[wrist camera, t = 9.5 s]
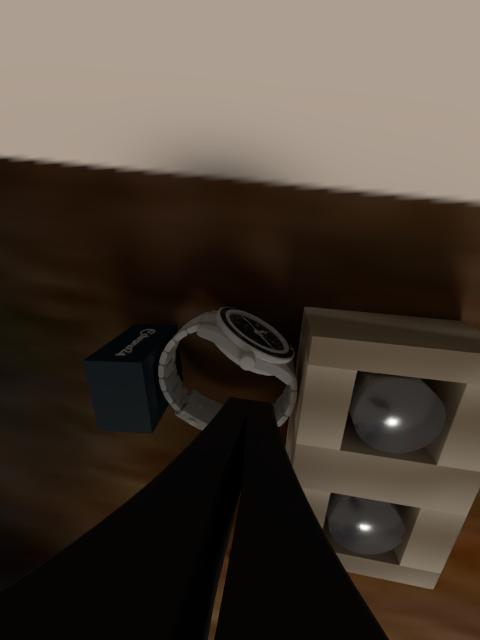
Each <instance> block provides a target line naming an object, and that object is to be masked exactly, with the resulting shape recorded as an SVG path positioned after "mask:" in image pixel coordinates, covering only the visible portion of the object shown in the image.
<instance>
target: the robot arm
mask: <svg viewBox="0 0 480 640" xmlns="http://www.w3.org/2000/svg"><path fill="white" fill-rule="evenodd" d="M240 491H241V497H240V503H239V508H238V514H237V520H236V525H235V531H234V537H233V542H232V548H231V553H230V558H229V564H228V569H227V575H226V580H225V586H224V591H223V596H222V602H221V607H220V612H219V617H218V623H217V628H216V633H215V639H214V640H389V639H388V637H387V636H386V634H385V633H384V631H383V629H382V628H381V626H380V625H379V623H378V621H377V620H376V618H375V617H374V615H373V614H372V612H371V610H370V609H369V607H368V606H367V604H366V602H365V601H364V599H363V598H362V596H361V595H360V593H359V591H358V590H357V588H356V587H355V585H354V583H353V582H352V580H351V579H350V577H349V575H348V573H347V572H346V570H345V568H344V566H343V565H342V563H341V561H340V560H339V558H338V556H337V554H336V553H335V551H334V549H333V547H332V546H331V544H330V542H329V540H328V538H327V536H326V535H325V533H324V531H323V529H322V527H321V525H320V524H319V522H318V520H317V518H316V516H315V514H314V512H313V510H312V508H311V506H310V504H309V502H308V500H307V498H306V496H305V494H304V491H303V489H302V487H301V485H300V483H299V480H298V478H297V476H296V474H295V471H294V469H293V467H292V464H291V462H290V459H289V456H288V454H287V451H286V449H285V446H284V443H283V441H282V438H281V435H280V431H279V428H278V425H277V421H276V417H275V411H274V406H273V405H272V404H271V403H268V402H261V401H254V400H246V399H239V398H232V397H231V398H229V399H228V400H227V401H226V402H225V403H224V405H223V406H222V407H221V409H220V410H219V411H218V413H217V414H216V415H215V416H214V418H213V419H212V420H211V421H210V422H209V423H208V425H207V426H206V427H205V428H204V429H203V430H202V431H201V432H200V434H199V435H198V436H197V437H196V438H195V439H194V440H193V441H192V442H191V443H190V444H189V445H188V446H187V447H186V448H185V449H184V450H183V451H182V452H181V453H180V454H179V455H178V456H177V457H176V458H175V459H174V460H173V461H172V462H171V463H170V464H169V465H168V466H167V467H166V468H165V469H164V470H163V471H162V472H161V473H159V474H158V475H157V476H156V477H155V478H154V479H153V480H152V481H151V482H149V483H148V484H147V485H146V486H145V487H144V488H142V489H141V490H140V491H139V492H138V493H136V494H135V495H134V496H133V497H132V498H130V499H129V500H128V501H127V502H126V503H124V504H123V505H122V506H120V507H119V508H118V509H116V510H115V511H114V512H113V513H111V514H110V515H109V516H107V517H106V518H105V519H104V520H102V521H101V522H100V523H98V524H97V525H96V526H94V527H93V528H92V529H90V530H89V531H88V532H86V533H85V534H84V535H82V536H81V537H79V538H78V539H77V540H75V541H74V542H72V543H71V544H70V545H68V546H67V547H65V548H64V549H62V550H61V551H59V552H58V553H56V554H55V555H53V556H52V557H50V558H49V559H48V560H46V561H45V562H43V563H42V564H40V565H39V566H37V567H36V568H34V569H33V570H31V571H30V572H28V573H27V574H25V575H24V576H22V577H21V578H19V579H18V580H16V581H15V582H13V583H12V584H10V585H9V586H7V587H6V588H4V589H3V590H1V591H0V640H208V635H209V629H210V623H211V617H212V612H213V606H214V601H215V596H216V592H217V587H218V582H219V578H220V574H221V570H222V566H223V561H224V557H225V553H226V549H227V545H228V541H229V537H230V533H231V529H232V525H233V520H234V516H235V512H236V508H237V504H238V500H239V496H240Z"/></svg>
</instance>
